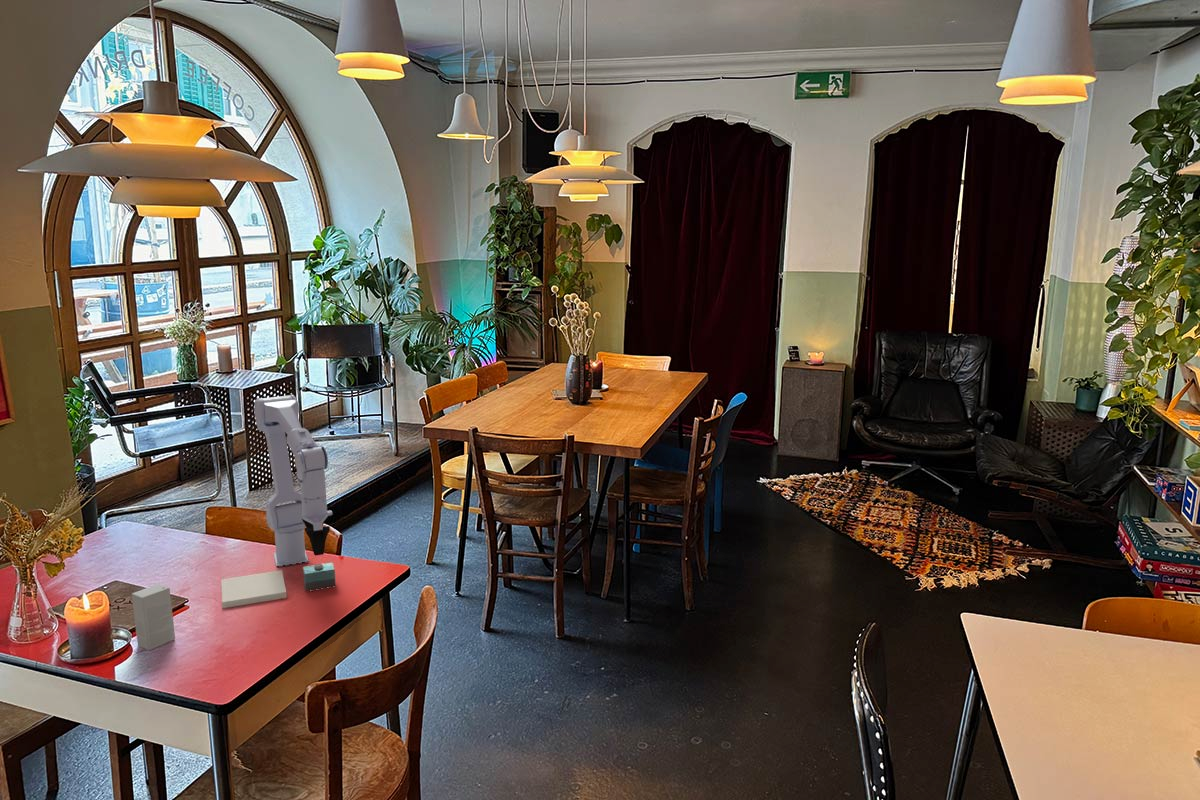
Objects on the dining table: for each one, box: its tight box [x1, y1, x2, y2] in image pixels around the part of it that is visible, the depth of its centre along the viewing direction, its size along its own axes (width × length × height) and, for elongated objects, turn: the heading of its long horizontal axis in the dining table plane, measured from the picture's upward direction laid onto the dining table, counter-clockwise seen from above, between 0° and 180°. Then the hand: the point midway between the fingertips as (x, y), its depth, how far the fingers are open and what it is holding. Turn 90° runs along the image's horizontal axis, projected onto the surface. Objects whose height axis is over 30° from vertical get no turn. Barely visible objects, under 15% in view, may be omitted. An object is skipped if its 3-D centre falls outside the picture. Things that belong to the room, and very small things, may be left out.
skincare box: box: [131, 583, 176, 651], centre depth 172 cm, size 6×4×12 cm
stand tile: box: [220, 569, 288, 609], centre depth 198 cm, size 14×14×2 cm
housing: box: [302, 562, 337, 592], centre depth 201 cm, size 5×7×5 cm, turn 115°
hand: (317, 549), depth 200 cm, fingers open, 7 cm apart
